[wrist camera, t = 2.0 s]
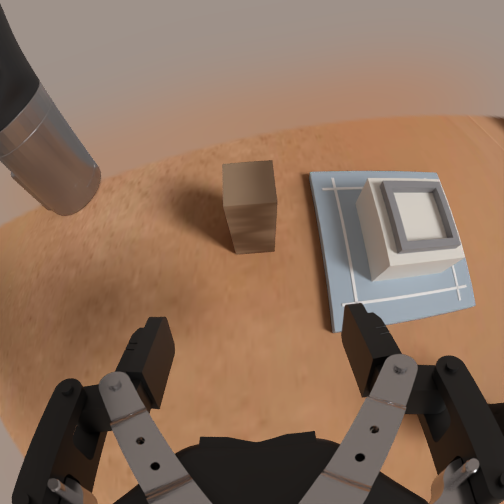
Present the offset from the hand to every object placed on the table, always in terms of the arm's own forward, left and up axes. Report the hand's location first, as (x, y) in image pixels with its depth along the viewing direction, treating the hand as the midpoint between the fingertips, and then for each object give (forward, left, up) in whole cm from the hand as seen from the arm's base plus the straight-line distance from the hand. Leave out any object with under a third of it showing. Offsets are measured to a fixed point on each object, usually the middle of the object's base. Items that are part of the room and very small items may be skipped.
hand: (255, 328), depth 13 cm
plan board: (+16, +10, -16) cm, 24 cm away
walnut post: (0, +12, -16) cm, 19 cm away
